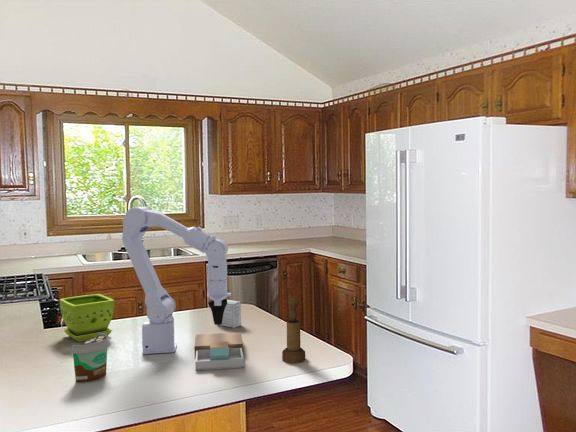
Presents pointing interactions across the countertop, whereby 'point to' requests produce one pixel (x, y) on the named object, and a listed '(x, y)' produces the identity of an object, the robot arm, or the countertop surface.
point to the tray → (206, 364)
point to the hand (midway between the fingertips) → (218, 324)
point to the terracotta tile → (218, 344)
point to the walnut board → (218, 340)
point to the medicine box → (232, 314)
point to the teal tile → (219, 353)
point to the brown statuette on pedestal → (293, 336)
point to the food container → (91, 358)
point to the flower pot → (87, 315)
